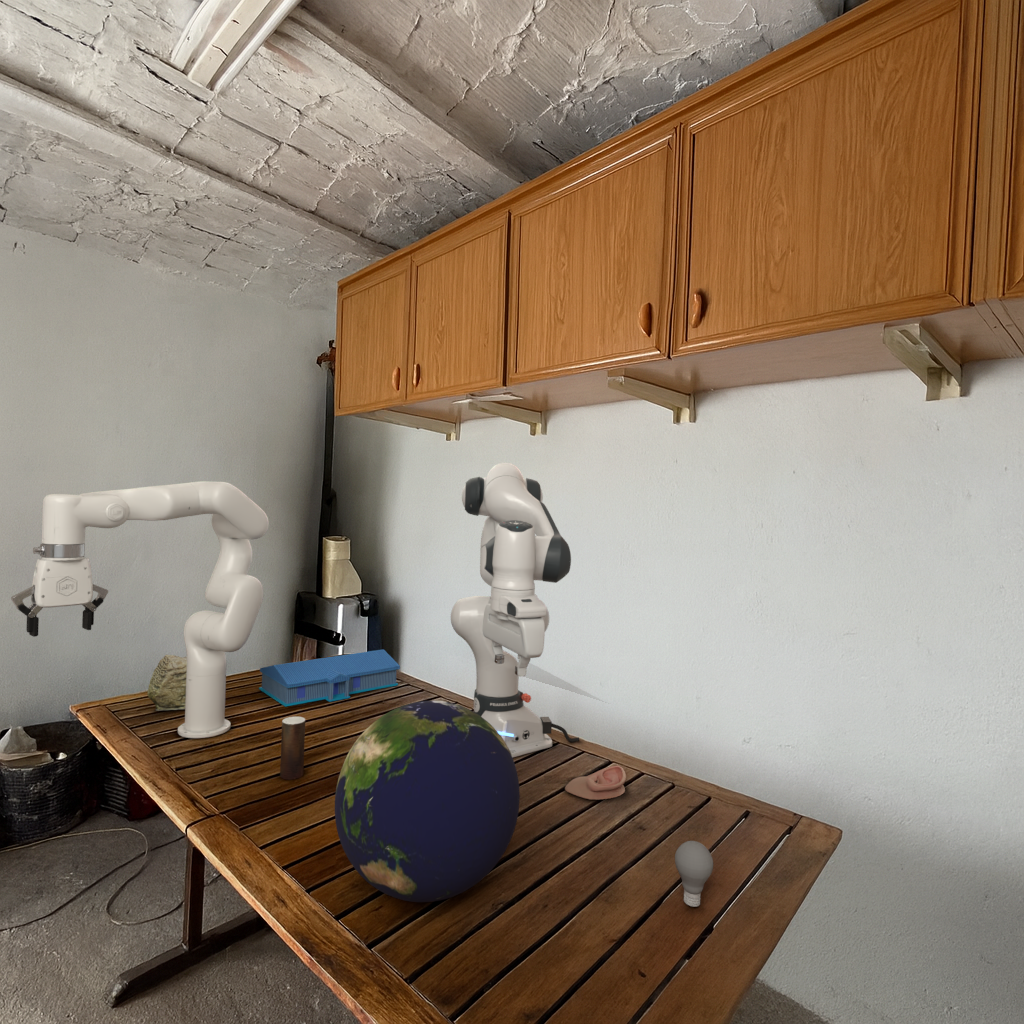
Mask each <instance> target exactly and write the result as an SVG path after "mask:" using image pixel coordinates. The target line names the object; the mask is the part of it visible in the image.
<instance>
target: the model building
mask: <svg viewBox="0 0 1024 1024" xmlns="http://www.w3.org/2000/svg"><path fill="white" fill-rule="evenodd" d="M400 669H401V665H400V664H399V663H398V662H397V661H396V660H395V659H394V658H393V657H392V656H391V654H389V653H388V652H387V651H386V650H385V649H376V650H368V651H363V652H356V653H349V654H342V655H341V654H340V655H335V656H329V657H328V656H327V657H321V658H315V659H314V658H313V659H307V660H300V661H293V662H287V663H278V664H272V665H268V666H264V667H263V666H262V667H260V668H259V672H260V673H261V686H260V687H258V690H260V691H261V692H262V693H264V694H265V695H267V696H268V697H270V698H271V699H273V700H274V701H276V702H277V703H279V704H280V705H282V706H283V707H290V706H297V705H302V704H307V703H312V702H317V701H323V700H325V701H327V702H329V703H330V702H335V701H341V700H346V699H347V700H348V699H350V698H351V695H353V694H359V693H364V692H365V693H366V692H369V691H373V690H381V689H385V688H390V687H391V688H392V687H395V686H399V683H398V682H397V670H400Z"/></svg>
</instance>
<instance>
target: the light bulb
mask: <svg viewBox="0 0 1024 1024" xmlns="http://www.w3.org/2000/svg"><path fill="white" fill-rule="evenodd" d="M674 865H675V868H676V871H677V872H678V874H679V877H680V878H681V884H682V888H683V903H685V904H686V905H687V906H690V907H699V906H700V905H701V895H702V892H703V890H704V885H705V884H706V882H707V881H708V879H709V878H710V877H711V875H712V873H713V869H714V859H713V856H712V853H711V852H710V851H709V849H708V848H707V847H706V846H705V845H704V844H703V843H701V842H699V841H697V840H687V841H685V842H683V843H681V844H680V845H679V846H678V848H677V849H676V851H675V854H674Z"/></svg>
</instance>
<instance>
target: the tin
mask: <svg viewBox="0 0 1024 1024" xmlns="http://www.w3.org/2000/svg"><path fill="white" fill-rule="evenodd" d="M305 737H306V718H305V717H303V716H289V717H285V718H283V719H282V720H281V742H280V744H281V745H280V767H279V768H280V770H279V777H280V778H281V779H282V780H287V781H289V780H296V779H299V778H301V777H303V775H304V769H305V768H304V766H305V765H304V764H305V741H306V740H305Z"/></svg>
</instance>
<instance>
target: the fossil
mask: <svg viewBox="0 0 1024 1024" xmlns="http://www.w3.org/2000/svg"><path fill="white" fill-rule="evenodd" d="M186 672H187V656H183V657H182V656H178V655H175V654H174V655H173V654H165V655H164V656H163V657H162V658H161V659H160V660H159V662H158V663H157V666H156V667H155V669H154V670H153V672H152V675H151V677H150V680H149V684H148V688H147V697H148V699H149V700H150V701H152V703H153V704H154V706H155V711H158V712H159V711H162V712H163V711H177V710H185V701H186Z"/></svg>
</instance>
